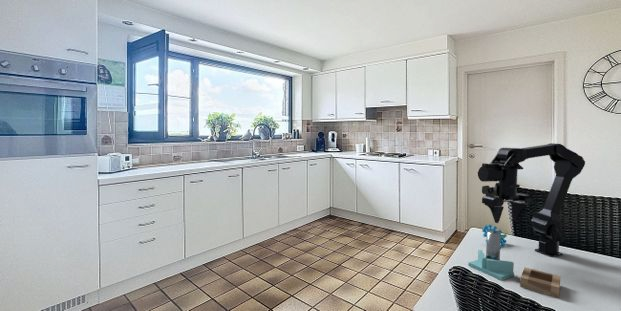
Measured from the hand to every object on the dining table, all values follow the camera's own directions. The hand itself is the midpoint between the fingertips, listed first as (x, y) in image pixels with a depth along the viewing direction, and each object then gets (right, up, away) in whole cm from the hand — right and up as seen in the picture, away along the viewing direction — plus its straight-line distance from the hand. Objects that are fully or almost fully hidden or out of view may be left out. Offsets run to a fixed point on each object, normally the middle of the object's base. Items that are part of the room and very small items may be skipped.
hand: (505, 221), depth 112 cm
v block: (-13, -14, -12) cm, 23 cm away
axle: (-12, -13, -12) cm, 21 cm away
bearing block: (-4, -15, -22) cm, 26 cm away
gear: (+3, -13, +12) cm, 17 cm away
